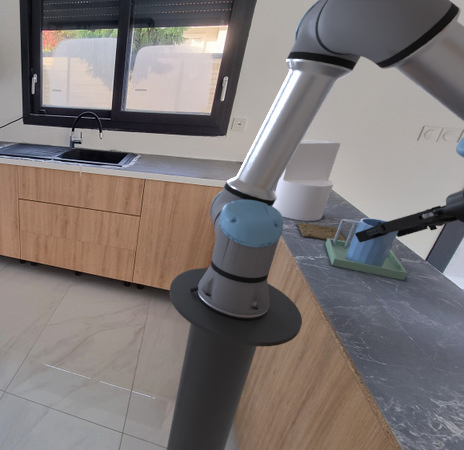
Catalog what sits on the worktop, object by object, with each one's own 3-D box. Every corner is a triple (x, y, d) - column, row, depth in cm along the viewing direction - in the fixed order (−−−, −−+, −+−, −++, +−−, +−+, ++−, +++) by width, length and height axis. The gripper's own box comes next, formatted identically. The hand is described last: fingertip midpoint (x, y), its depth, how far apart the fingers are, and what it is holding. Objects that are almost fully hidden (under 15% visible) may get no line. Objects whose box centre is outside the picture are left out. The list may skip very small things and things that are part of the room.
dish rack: (331, 265, 90) (344, 233, 86) (325, 244, 102) (335, 215, 98) (403, 280, 83) (421, 246, 79) (387, 255, 94) (402, 225, 90)
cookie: (347, 243, 102) (348, 240, 101) (302, 236, 107) (303, 234, 107) (337, 229, 112) (338, 227, 111) (297, 223, 117) (297, 221, 116)
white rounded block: (262, 205, 136) (279, 140, 124) (303, 205, 135) (323, 139, 123) (286, 220, 120) (308, 147, 108) (332, 220, 119) (360, 147, 108)
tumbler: (348, 263, 89) (363, 225, 84) (343, 252, 95) (357, 216, 91) (385, 271, 85) (404, 232, 80) (378, 258, 92) (395, 221, 87)
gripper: (451, 223, 63) (348, 253, 82) (535, 212, 68) (418, 242, 87) (430, 191, 65) (335, 227, 85) (512, 182, 70) (404, 218, 90)
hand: (377, 235), depth 86 cm, fingers open, 13 cm apart
